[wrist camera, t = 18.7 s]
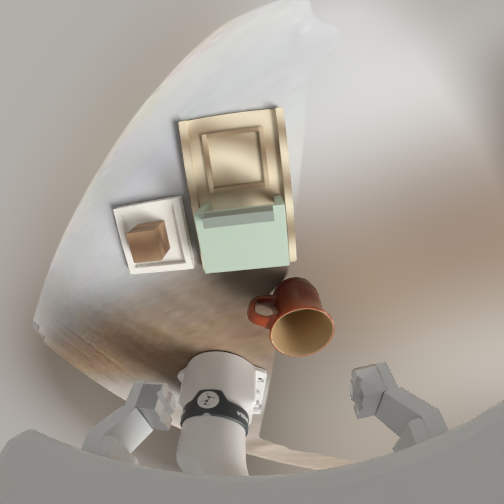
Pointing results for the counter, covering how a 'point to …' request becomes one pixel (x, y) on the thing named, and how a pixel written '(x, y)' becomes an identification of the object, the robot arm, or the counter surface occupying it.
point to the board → (238, 163)
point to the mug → (294, 318)
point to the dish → (175, 227)
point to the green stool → (243, 237)
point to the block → (148, 242)
